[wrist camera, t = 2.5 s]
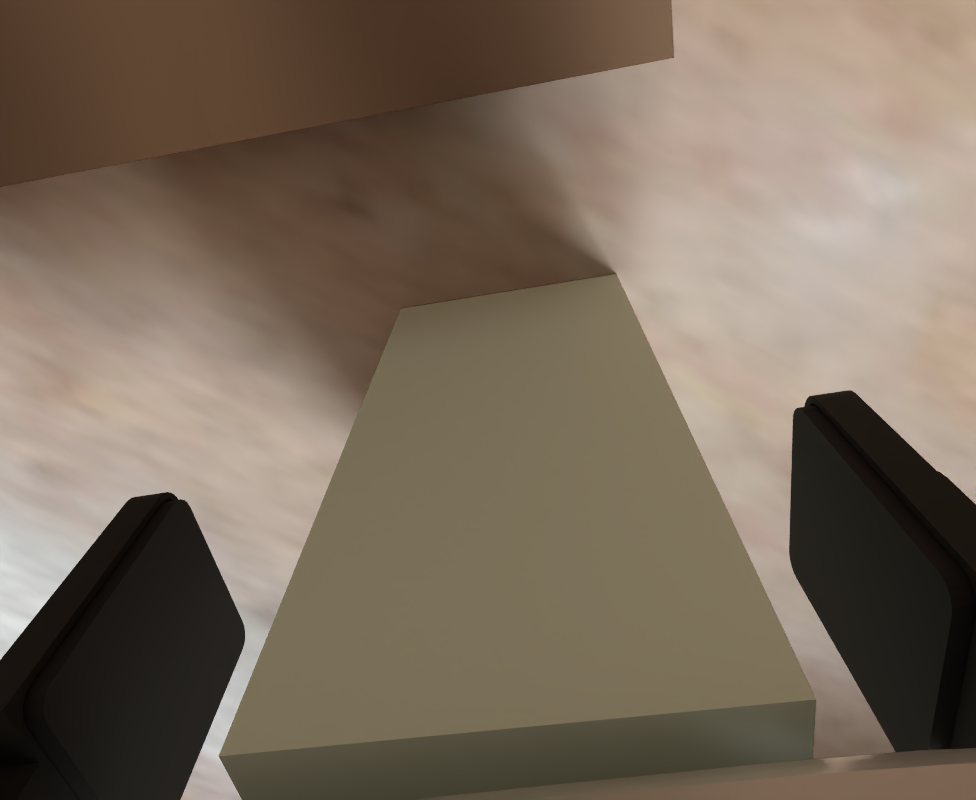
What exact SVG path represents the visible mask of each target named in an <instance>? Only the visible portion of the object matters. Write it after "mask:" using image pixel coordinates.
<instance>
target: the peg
mask: <svg viewBox="0 0 976 800" xmlns="http://www.w3.org/2000/svg"><path fill="white" fill-rule="evenodd" d="M815 710H816V698H815V696H814V694H813V692H812V690H811V687H810V685H809V683H808V681H807V679H806V677H805V675H804V673H803V670H802V668H801V666H800V664H799V662H798V660H797V658H796V656H795V653H794V651H793V649H792V647H791V645H790V643H789V641H788V638H787V636H786V634H785V632H784V630H783V628H782V626H781V624H780V621H779V619H778V617H777V615H776V613H775V611H774V609H773V607H772V604H771V602H770V600H769V598H768V596H767V594H766V592H765V589H764V587H763V585H762V583H761V581H760V579H759V577H758V575H757V572H756V570H755V568H754V566H753V564H752V562H751V560H750V558H749V555H748V553H747V551H746V549H745V547H744V545H743V543H742V540H741V538H740V536H739V534H738V532H737V530H736V528H735V526H734V523H733V521H732V519H731V517H730V515H729V513H728V511H727V509H726V506H725V504H724V502H723V500H722V498H721V496H720V494H719V491H718V489H717V487H716V485H715V483H714V481H713V479H712V477H711V474H710V472H709V470H708V468H707V466H706V464H705V462H704V460H703V457H702V455H701V453H700V451H699V449H698V447H697V445H696V442H695V440H694V438H693V436H692V434H691V432H690V430H689V428H688V425H687V423H686V421H685V419H684V417H683V415H682V413H681V411H680V408H679V406H678V404H677V402H676V400H675V398H674V396H673V393H672V391H671V389H670V387H669V385H668V383H667V381H666V379H665V376H664V374H663V372H662V370H661V368H660V366H659V364H658V362H657V359H656V357H655V355H654V353H653V351H652V349H651V347H650V344H649V342H648V340H647V338H646V336H645V334H644V332H643V330H642V327H641V325H640V323H639V321H638V319H637V317H636V315H635V313H634V310H633V308H632V306H631V304H630V302H629V300H628V298H627V295H626V293H625V291H624V289H623V287H622V285H621V283H620V281H619V278H618V276H617V274H613V275H607V276H601V277H594V278H588V279H582V280H576V281H570V282H563V283H557V284H551V285H545V286H539V287H532V288H526V289H520V290H514V291H508V292H501V293H495V294H489V295H483V296H477V297H470V298H464V299H458V300H452V301H445V302H439V303H433V304H427V305H421V306H414V307H408V308H402V309H400V312H399V314H398V317H397V319H396V322H395V324H394V327H393V329H392V332H391V334H390V336H389V339H388V341H387V344H386V346H385V349H384V351H383V354H382V356H381V359H380V361H379V364H378V366H377V368H376V371H375V373H374V376H373V378H372V381H371V383H370V386H369V388H368V391H367V393H366V395H365V398H364V400H363V403H362V405H361V408H360V410H359V413H358V415H357V418H356V420H355V423H354V425H353V427H352V430H351V432H350V435H349V437H348V440H347V442H346V445H345V447H344V450H343V452H342V454H341V457H340V459H339V462H338V464H337V467H336V469H335V472H334V474H333V477H332V479H331V482H330V484H329V486H328V489H327V491H326V494H325V496H324V499H323V501H322V504H321V506H320V509H319V511H318V513H317V516H316V518H315V521H314V523H313V526H312V528H311V531H310V533H309V536H308V538H307V541H306V543H305V545H304V548H303V550H302V553H301V555H300V558H299V560H298V563H297V565H296V568H295V570H294V572H293V575H292V577H291V580H290V582H289V585H288V587H287V590H286V592H285V595H284V597H283V600H282V602H281V604H280V607H279V609H278V612H277V614H276V617H275V619H274V622H273V624H272V627H271V629H270V631H269V634H268V636H267V639H266V641H265V644H264V646H263V649H262V651H261V654H260V656H259V659H258V661H257V663H256V666H255V668H254V671H253V673H252V676H251V678H250V681H249V683H248V686H247V688H246V691H245V693H244V695H243V698H242V700H241V703H240V705H239V708H238V710H237V713H236V715H235V718H234V720H233V722H232V725H231V727H230V730H229V732H228V735H227V737H226V740H225V742H224V745H223V747H222V750H221V752H220V754H219V758H220V759H221V761H222V763H223V765H224V767H225V769H226V771H227V772H228V774H229V776H230V778H231V780H232V782H233V784H234V785H235V787H236V789H237V791H238V793H239V795H240V797H241V798H242V800H414V799H423V798H433V797H442V796H452V795H461V794H471V793H480V792H490V791H499V790H509V789H518V788H528V787H537V786H546V785H556V784H566V783H576V782H586V781H596V780H606V779H616V778H626V777H635V776H645V775H655V774H665V773H675V772H685V771H695V770H705V769H715V768H725V767H735V766H745V765H755V764H765V763H775V762H787V761H799V760H811V759H813V746H814V728H815Z"/></svg>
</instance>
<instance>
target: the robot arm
mask: <svg viewBox="0 0 976 800" xmlns="http://www.w3.org/2000/svg"><path fill="white" fill-rule="evenodd" d="M789 553H790V561H791V565H792V568H793V571H794V574H795V576H796V578H797V580H798V581H799V583H800V585H801V587H802V588H803V590H804V592H805V594H806V595H807V597H808V599H809V601H810V602H811V604H812V606H813V608H814V609H815V611H816V613H817V615H818V616H819V618H820V620H821V622H822V623H823V625H824V627H825V629H826V630H827V632H828V634H829V636H830V637H831V639H832V641H833V643H834V644H835V646H836V648H837V650H838V651H839V653H840V655H841V657H842V658H843V660H844V662H845V664H846V665H847V667H848V669H849V671H850V672H851V674H852V676H853V678H854V679H855V681H856V683H857V685H858V686H859V688H860V690H861V692H862V694H863V695H864V697H865V699H866V701H867V702H868V704H869V706H870V708H871V709H872V711H873V713H874V715H875V716H876V718H877V720H878V722H879V723H880V725H881V727H882V729H883V730H884V732H885V734H886V736H887V737H888V739H889V741H890V743H891V744H892V746H893V748H894V750H895V751H896V752H894V753H883V754H871V755H859V756H847V757H835V758H823V759H811V760H799V761H787V762H775V763H765V764H755V765H745V766H735V767H725V768H715V769H705V770H695V771H685V772H675V773H665V774H655V775H645V776H635V777H626V778H616V779H606V780H596V781H586V782H576V783H566V784H556V785H546V786H537V787H528V788H518V789H509V790H499V791H490V792H480V793H471V794H461V795H452V796H442V797H433V798H423V799H414V800H976V505H975V504H974V503H973V502H972V501H971V500H970V499H969V498H968V497H967V496H966V495H965V494H964V493H963V492H962V491H961V490H960V489H959V488H958V487H957V486H956V485H954V484H953V483H952V482H951V481H950V480H949V479H948V478H947V477H946V476H944V475H943V474H941V473H940V472H939V471H936V470H935V469H934V468H933V467H932V466H931V465H930V464H929V463H928V462H927V461H926V460H925V459H924V458H923V457H921V456H920V455H919V454H918V453H917V452H916V451H915V450H914V449H913V448H912V447H911V446H910V445H909V444H908V443H907V442H906V441H905V440H904V439H903V438H902V437H901V436H900V435H899V434H898V433H896V432H895V431H894V430H893V429H892V428H891V427H890V426H889V425H888V424H887V423H886V422H885V421H884V420H883V419H882V418H881V417H880V416H879V415H878V414H877V413H876V412H875V411H874V410H872V409H871V408H870V407H869V406H868V405H867V404H866V403H865V402H864V401H863V400H862V399H861V398H860V397H859V396H858V395H857V394H856V393H854V392H853V391H841V392H835V393H828V394H821V395H815V396H809V397H808V398H807V400H806V403H805V407H801V408H797V409H796V410H795V411H794V415H793V439H792V474H791V510H790V545H789ZM244 642H245V629H244V625H243V622H242V619H241V617H240V615H239V613H238V611H237V609H236V606H235V604H234V602H233V600H232V598H231V595H230V593H229V591H228V589H227V587H226V584H225V582H224V580H223V578H222V576H221V574H220V571H219V569H218V567H217V565H216V563H215V560H214V558H213V556H212V554H211V552H210V549H209V547H208V545H207V543H206V541H205V539H204V536H203V534H202V532H201V530H200V528H199V525H198V523H197V521H196V519H195V517H194V514H193V512H192V510H191V508H190V506H189V505H188V503H187V502H186V501H185V500H181V499H180V500H178V498H177V497H176V496H175V495H174V494H172V493H169V492H166V493H159V494H153V495H146V496H139V497H134V498H131V499H130V500H128V501H127V502H126V503H125V505H124V506H123V507H122V508H121V510H120V511H119V512H118V513H117V515H116V516H115V517H114V518H113V520H112V521H111V522H110V524H109V525H108V526H107V527H106V529H105V530H104V531H103V532H102V534H101V535H100V536H99V537H98V539H97V540H96V541H95V542H94V544H93V545H92V546H91V547H90V549H89V550H88V551H87V552H86V554H85V555H84V556H83V557H82V559H81V560H80V561H79V562H78V564H77V565H76V566H75V567H74V569H73V570H72V571H71V572H70V574H69V575H68V576H67V577H66V579H65V580H64V581H63V582H62V584H61V585H60V586H59V587H58V589H57V590H56V591H55V592H54V594H53V595H52V596H51V597H50V599H49V600H48V601H47V602H46V604H45V605H44V606H43V607H42V609H41V610H40V611H39V612H38V614H37V615H36V616H35V617H34V619H33V620H32V621H31V622H30V624H29V625H28V626H27V627H26V629H25V630H24V631H23V632H22V634H21V635H20V636H19V637H18V639H17V640H16V641H15V642H14V644H13V645H12V646H11V647H10V649H9V650H8V651H7V652H6V654H5V655H4V656H3V658H2V659H1V660H0V800H180V799H181V797H182V795H183V792H184V790H185V787H186V785H187V782H188V780H189V778H190V775H191V773H192V770H193V768H194V765H195V763H196V761H197V758H198V756H199V753H200V751H201V748H202V746H203V744H204V741H205V739H206V736H207V734H208V732H209V729H210V727H211V724H212V722H213V719H214V717H215V715H216V712H217V710H218V707H219V705H220V702H221V700H222V698H223V695H224V693H225V690H226V688H227V685H228V683H229V681H230V678H231V676H232V673H233V671H234V669H235V666H236V664H237V661H238V659H239V656H240V654H241V652H242V649H243V646H244Z"/></svg>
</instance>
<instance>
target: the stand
mask: <svg viewBox="0 0 976 800" xmlns="http://www.w3.org/2000/svg"><path fill="white" fill-rule="evenodd" d="M669 58H674V46H673V26H672V6H671V0H0V187H2V186H7V185H12V184H18V183H23V182H28V181H33V180H38V179H44V178H49V177H54V176H59V175H65V174H70V173H75V172H80V171H85V170H91V169H96V168H101V167H106V166H111V165H117V164H122V163H127V162H132V161H137V160H143V159H148V158H153V157H158V156H164V155H169V154H174V153H179V152H184V151H190V150H195V149H200V148H205V147H210V146H216V145H221V144H226V143H231V142H237V141H242V140H247V139H252V138H257V137H263V136H268V135H273V134H278V133H283V132H289V131H294V130H299V129H304V128H310V127H315V126H320V125H325V124H330V123H336V122H341V121H346V120H351V119H356V118H362V117H367V116H372V115H377V114H383V113H388V112H393V111H398V110H403V109H409V108H414V107H419V106H424V105H429V104H435V103H440V102H445V101H450V100H455V99H461V98H466V97H471V96H476V95H482V94H487V93H492V92H497V91H502V90H508V89H513V88H518V87H523V86H528V85H534V84H539V83H544V82H549V81H555V80H560V79H565V78H570V77H575V76H581V75H586V74H591V73H596V72H601V71H607V70H612V69H617V68H622V67H628V66H633V65H638V64H643V63H648V62H654V61H659V60H664V59H669Z"/></svg>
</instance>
